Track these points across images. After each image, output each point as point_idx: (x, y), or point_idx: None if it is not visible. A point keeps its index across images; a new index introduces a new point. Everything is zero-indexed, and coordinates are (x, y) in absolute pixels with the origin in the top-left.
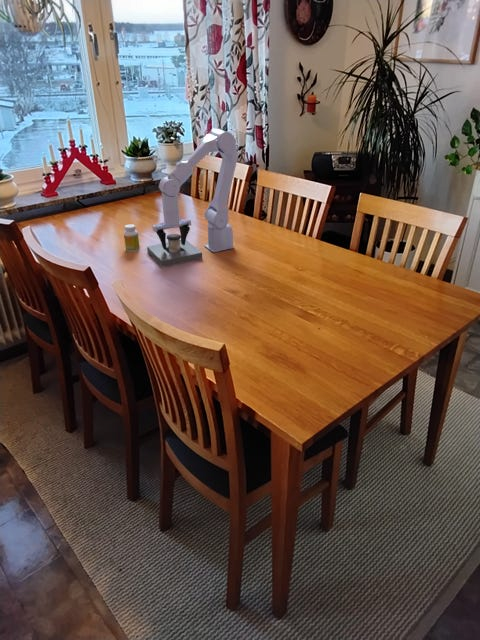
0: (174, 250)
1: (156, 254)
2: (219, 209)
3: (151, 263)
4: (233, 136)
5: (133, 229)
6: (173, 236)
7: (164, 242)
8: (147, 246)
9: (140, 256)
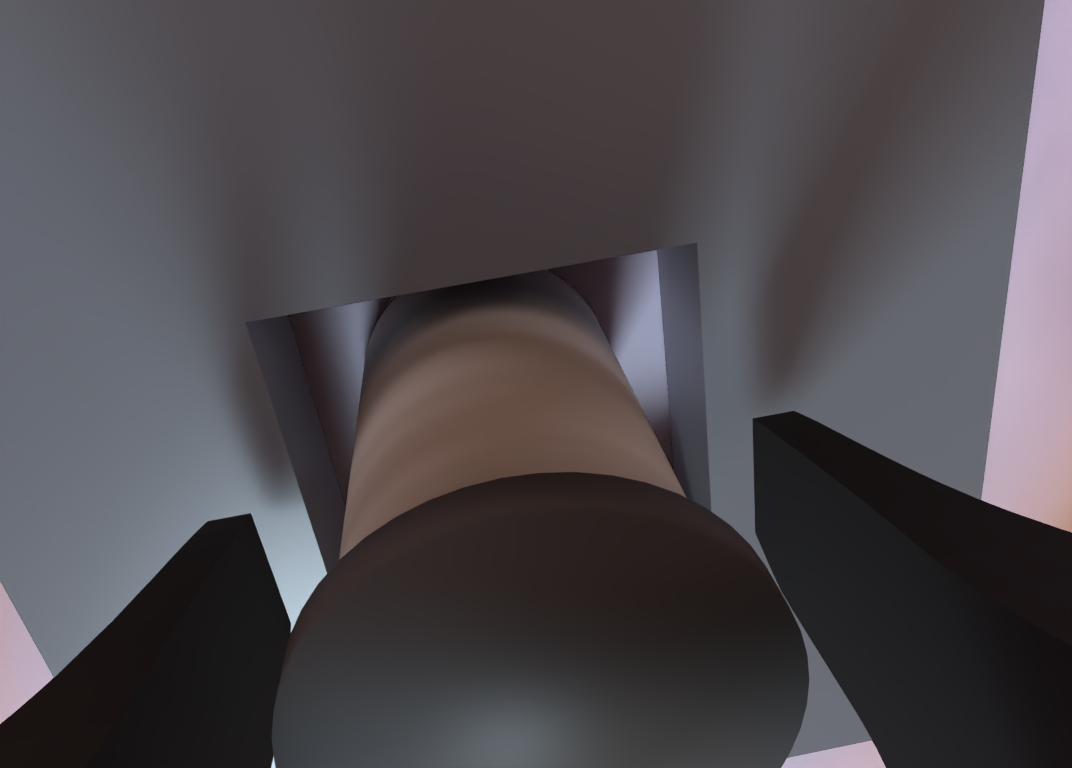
0: (542, 336)
1: (978, 311)
2: None
3: (1050, 159)
4: None
5: None
6: (561, 717)
7: (903, 488)
8: None
9: (1056, 526)
